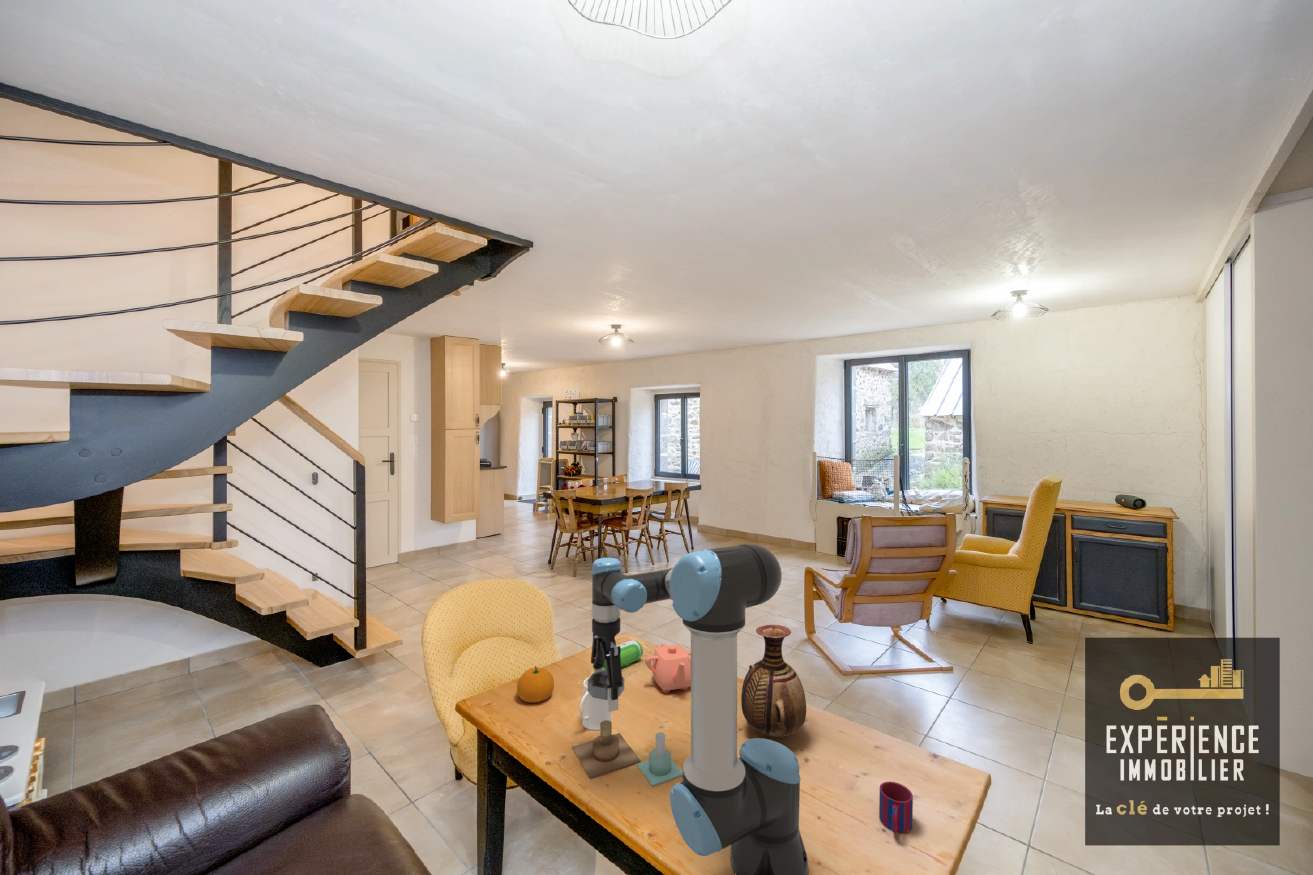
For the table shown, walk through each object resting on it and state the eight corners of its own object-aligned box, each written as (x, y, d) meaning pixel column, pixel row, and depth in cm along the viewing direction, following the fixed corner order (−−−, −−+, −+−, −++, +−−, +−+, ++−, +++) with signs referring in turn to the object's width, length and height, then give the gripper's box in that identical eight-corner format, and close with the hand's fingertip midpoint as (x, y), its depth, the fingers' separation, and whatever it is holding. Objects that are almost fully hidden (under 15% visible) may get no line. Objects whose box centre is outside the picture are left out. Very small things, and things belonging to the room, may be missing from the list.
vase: (804, 763, 135) (805, 649, 134) (734, 749, 141) (735, 639, 140) (807, 719, 155) (808, 620, 154) (747, 709, 161) (747, 613, 160)
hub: (641, 762, 135) (641, 730, 135) (590, 778, 129) (590, 745, 128) (619, 733, 147) (619, 704, 147) (572, 747, 141) (572, 717, 141)
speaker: (630, 655, 198) (631, 636, 198) (643, 661, 193) (644, 641, 193) (594, 670, 186) (594, 649, 186) (607, 677, 181) (607, 656, 181)
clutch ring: (628, 694, 136) (628, 682, 136) (596, 702, 132) (596, 690, 132) (614, 678, 144) (615, 668, 144) (584, 686, 140) (584, 675, 140)
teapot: (660, 670, 186) (661, 634, 186) (702, 679, 180) (702, 642, 179) (639, 692, 171) (639, 652, 171) (684, 702, 164) (684, 661, 164)
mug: (588, 739, 145) (588, 696, 145) (568, 728, 150) (568, 687, 150) (617, 720, 154) (617, 680, 154) (597, 710, 160) (597, 672, 159)
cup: (914, 818, 116) (914, 788, 116) (907, 848, 108) (908, 816, 108) (882, 806, 120) (882, 777, 120) (873, 834, 111) (873, 803, 111)
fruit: (510, 696, 168) (510, 665, 168) (542, 684, 176) (542, 655, 176) (528, 711, 159) (528, 678, 159) (561, 697, 167) (561, 667, 167)
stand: (684, 775, 130) (684, 739, 130) (652, 786, 126) (652, 749, 126) (667, 755, 138) (667, 721, 138) (636, 765, 134) (636, 730, 134)
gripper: (636, 629, 129) (636, 718, 130) (604, 602, 149) (603, 680, 149) (608, 634, 126) (608, 726, 127) (579, 606, 145) (578, 685, 146)
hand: (605, 701), depth 138 cm, fingers closed on clutch ring, 9 cm apart
